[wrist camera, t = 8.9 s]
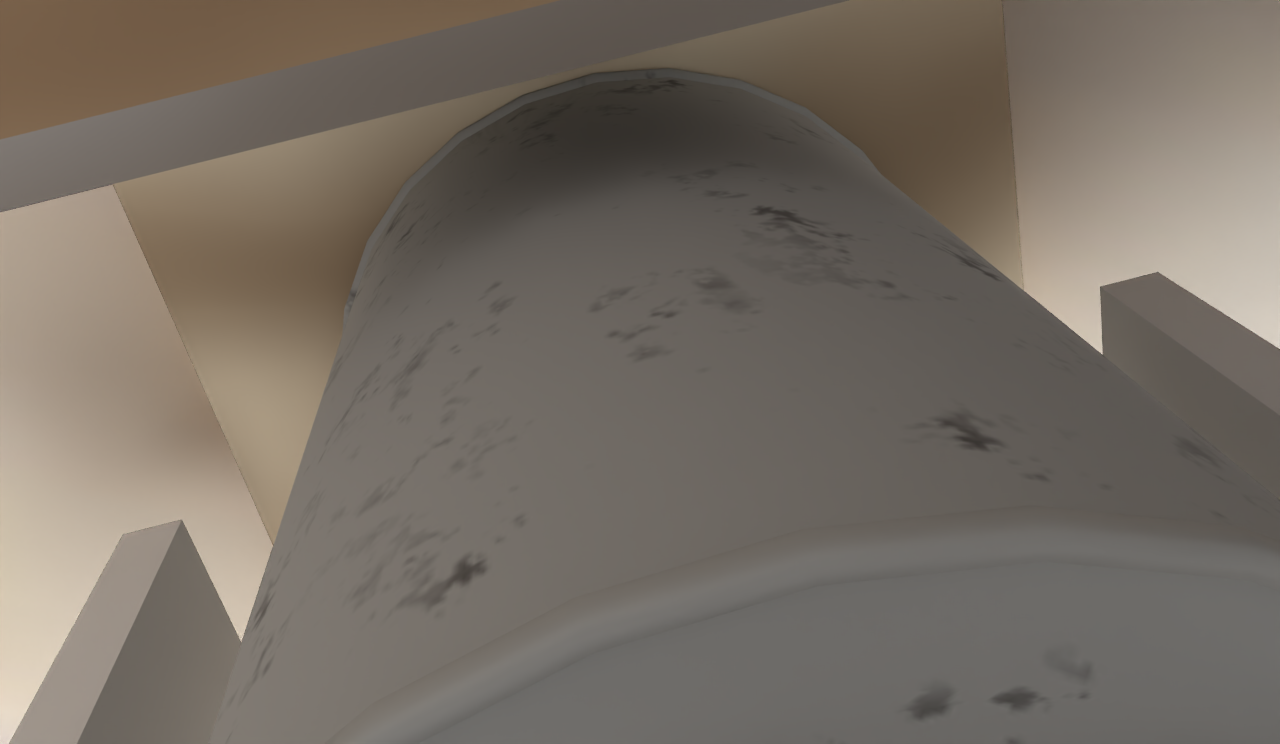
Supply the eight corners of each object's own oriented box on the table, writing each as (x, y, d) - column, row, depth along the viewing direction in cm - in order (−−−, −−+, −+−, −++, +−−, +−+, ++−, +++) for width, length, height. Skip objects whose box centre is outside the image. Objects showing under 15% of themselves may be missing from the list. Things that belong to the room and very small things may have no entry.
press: (-51, -260, 14) (-483, -348, 8) (934, -500, 14) (1276, -774, 8) (523, 1067, 26) (532, 1448, 20) (1053, 929, 27) (1227, 1264, 20)
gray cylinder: (816, 653, 21) (1182, 1562, 10) (292, 562, 19) (-9, 1588, 8) (1028, 163, 17) (1982, 705, 6) (411, -17, 15) (175, 317, 4)
